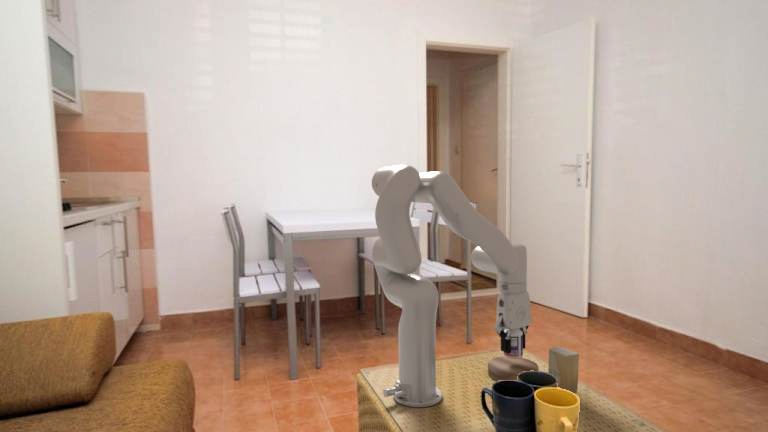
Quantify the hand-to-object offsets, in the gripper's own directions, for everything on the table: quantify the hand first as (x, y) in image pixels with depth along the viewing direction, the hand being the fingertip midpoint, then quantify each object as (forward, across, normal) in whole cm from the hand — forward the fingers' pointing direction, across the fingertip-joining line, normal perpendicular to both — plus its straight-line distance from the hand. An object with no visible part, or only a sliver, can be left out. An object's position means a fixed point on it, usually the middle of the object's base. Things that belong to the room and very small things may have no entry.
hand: (513, 349), depth 134 cm
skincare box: (+8, -1, -17) cm, 19 cm away
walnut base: (+8, 0, 0) cm, 8 cm away
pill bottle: (+2, 0, 0) cm, 2 cm away
